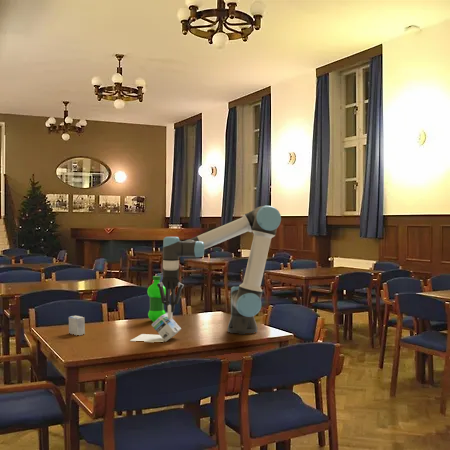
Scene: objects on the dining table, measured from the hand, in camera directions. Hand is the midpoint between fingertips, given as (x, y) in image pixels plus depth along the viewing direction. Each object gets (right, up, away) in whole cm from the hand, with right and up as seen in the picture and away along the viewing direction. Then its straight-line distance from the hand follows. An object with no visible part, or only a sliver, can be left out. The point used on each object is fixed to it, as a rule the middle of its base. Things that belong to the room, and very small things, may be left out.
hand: (170, 318), depth 273 cm
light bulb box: (+2, -8, 0) cm, 8 cm away
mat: (-9, -10, +3) cm, 14 cm away
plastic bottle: (-12, -9, +47) cm, 49 cm away
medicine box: (-48, -10, +13) cm, 50 cm away
